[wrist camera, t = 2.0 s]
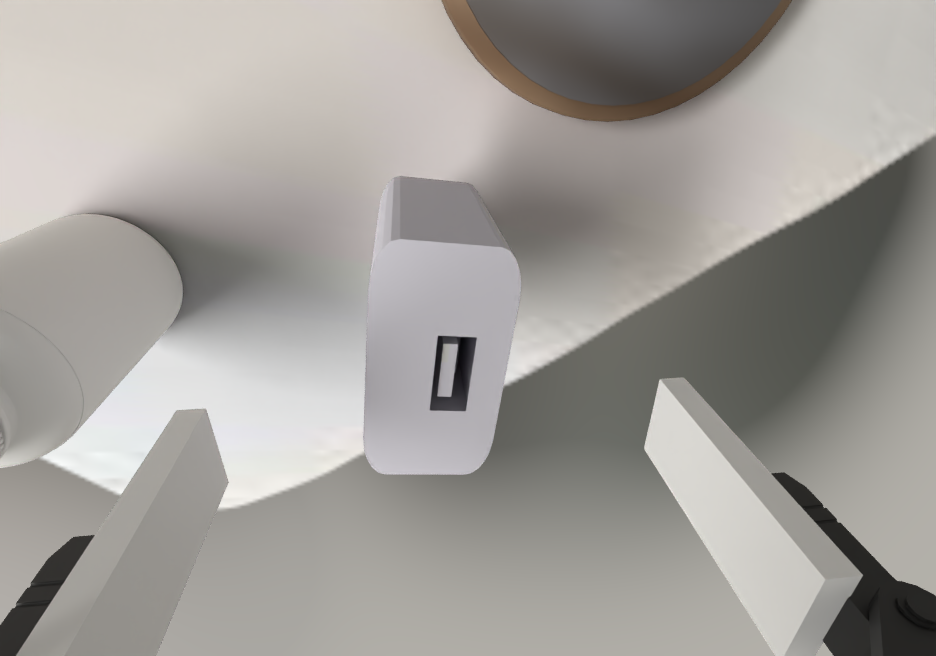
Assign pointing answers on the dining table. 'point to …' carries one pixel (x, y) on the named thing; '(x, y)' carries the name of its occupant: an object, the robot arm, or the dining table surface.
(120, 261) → the pill bottle
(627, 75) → the round mirror
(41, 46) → the dining table surface
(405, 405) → the charger
